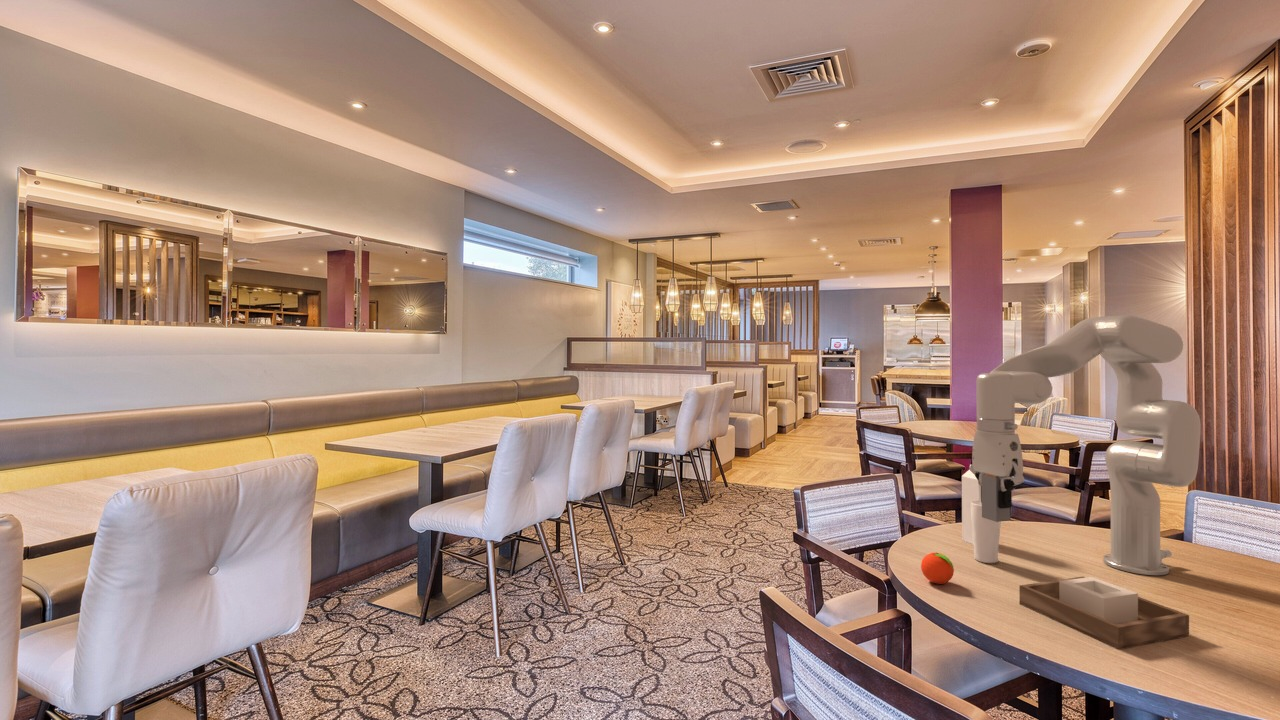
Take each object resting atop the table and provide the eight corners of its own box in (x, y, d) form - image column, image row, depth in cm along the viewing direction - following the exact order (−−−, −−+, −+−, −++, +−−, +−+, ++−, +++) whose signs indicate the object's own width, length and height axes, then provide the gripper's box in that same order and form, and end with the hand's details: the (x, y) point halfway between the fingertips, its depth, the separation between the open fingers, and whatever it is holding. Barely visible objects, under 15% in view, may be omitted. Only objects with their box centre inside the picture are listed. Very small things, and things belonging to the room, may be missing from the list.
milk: (979, 547, 160) (978, 468, 160) (961, 540, 166) (961, 464, 166) (996, 545, 162) (995, 467, 162) (978, 538, 168) (977, 463, 168)
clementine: (965, 587, 133) (964, 556, 133) (943, 592, 130) (943, 561, 130) (935, 575, 140) (935, 546, 140) (914, 579, 137) (914, 550, 137)
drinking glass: (1005, 566, 146) (1005, 507, 146) (976, 564, 147) (976, 506, 147) (994, 556, 152) (994, 500, 152) (967, 555, 154) (966, 499, 154)
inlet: (1091, 601, 123) (1091, 576, 123) (1137, 620, 114) (1137, 593, 114) (1059, 606, 121) (1059, 581, 121) (1103, 626, 112) (1103, 598, 112)
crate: (1083, 594, 128) (1083, 576, 128) (1189, 636, 109) (1189, 615, 109) (1019, 603, 124) (1019, 585, 124) (1118, 649, 104) (1118, 627, 104)
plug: (995, 515, 135) (995, 469, 135) (1010, 520, 131) (1010, 472, 131) (981, 517, 134) (981, 470, 134) (996, 521, 130) (996, 473, 130)
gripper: (1041, 430, 126) (1042, 513, 126) (978, 421, 142) (979, 495, 142) (1014, 431, 124) (1015, 516, 124) (953, 423, 140) (954, 497, 140)
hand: (996, 504), depth 133 cm, fingers closed on plug, 4 cm apart
